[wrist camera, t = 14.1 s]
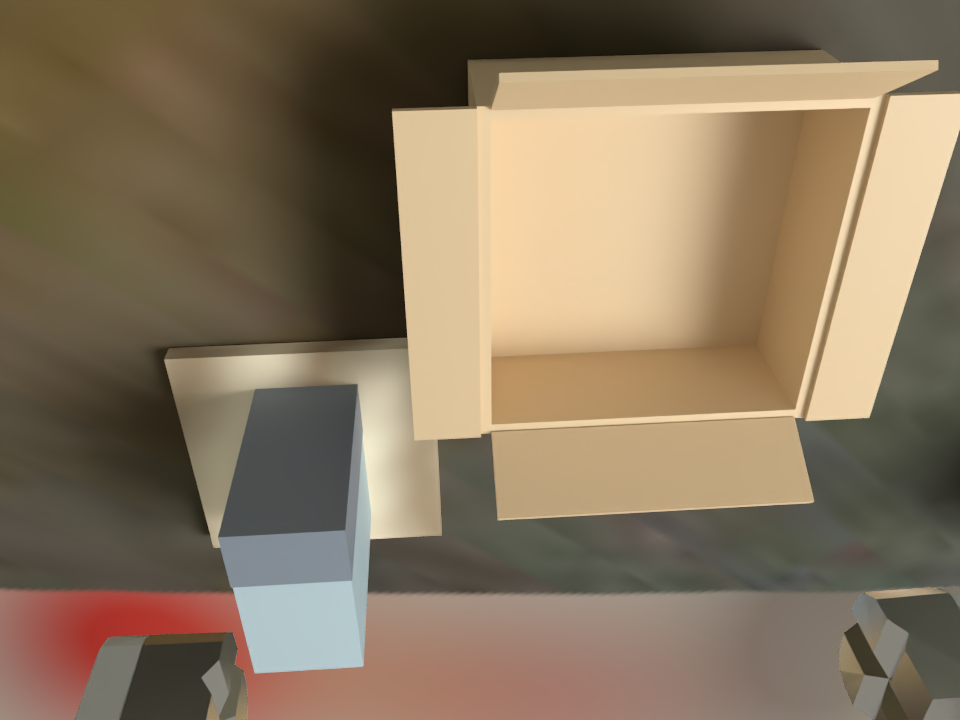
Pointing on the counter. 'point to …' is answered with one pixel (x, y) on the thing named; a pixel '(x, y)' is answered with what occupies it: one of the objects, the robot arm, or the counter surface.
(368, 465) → the birch board
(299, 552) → the slate-blue box
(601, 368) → the carton
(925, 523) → the counter surface
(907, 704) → the robot arm
